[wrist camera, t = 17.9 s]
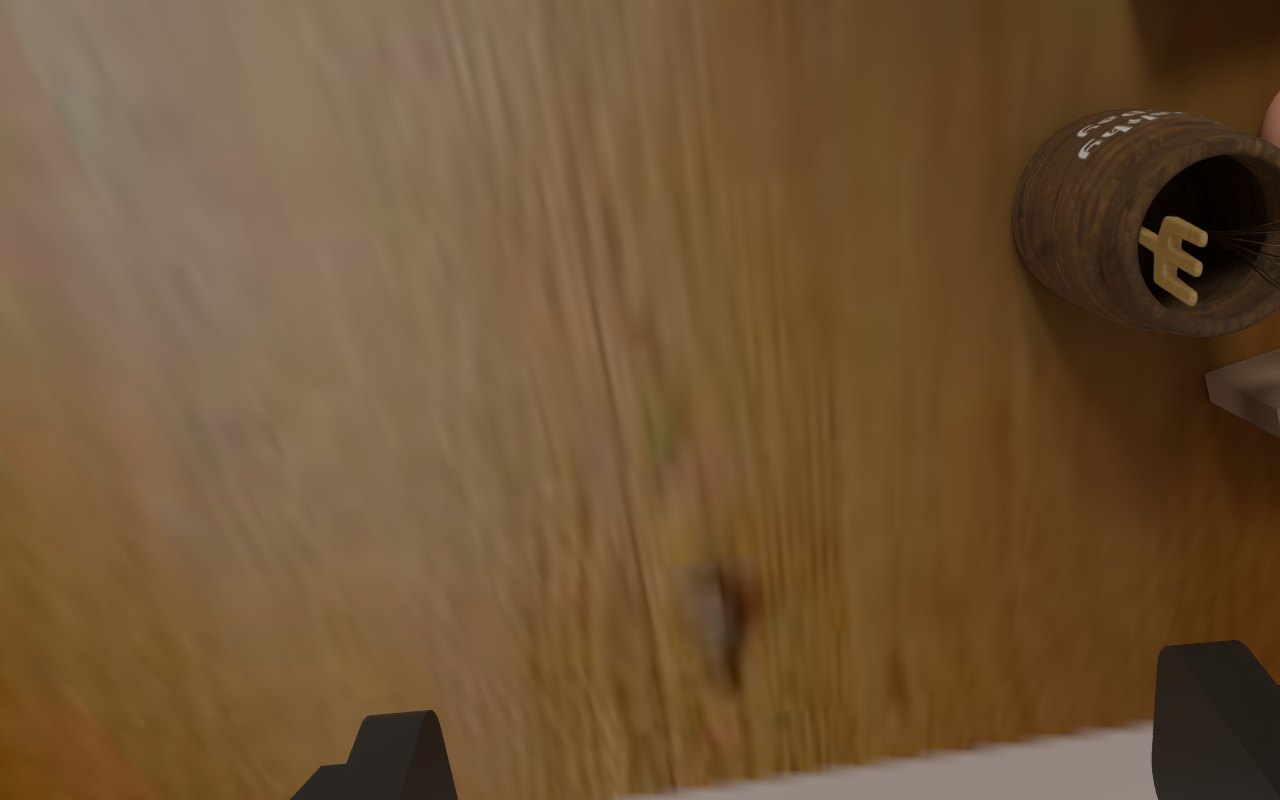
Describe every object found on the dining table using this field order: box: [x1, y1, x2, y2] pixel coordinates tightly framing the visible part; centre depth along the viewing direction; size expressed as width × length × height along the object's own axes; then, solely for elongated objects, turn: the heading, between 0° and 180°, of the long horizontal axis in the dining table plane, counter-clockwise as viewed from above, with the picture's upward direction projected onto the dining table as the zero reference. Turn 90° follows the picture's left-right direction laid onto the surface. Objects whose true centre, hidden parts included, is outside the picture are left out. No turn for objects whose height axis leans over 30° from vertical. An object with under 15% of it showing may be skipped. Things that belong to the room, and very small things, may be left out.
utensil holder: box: [1013, 110, 1280, 337], centre depth 29 cm, size 6×6×12 cm
